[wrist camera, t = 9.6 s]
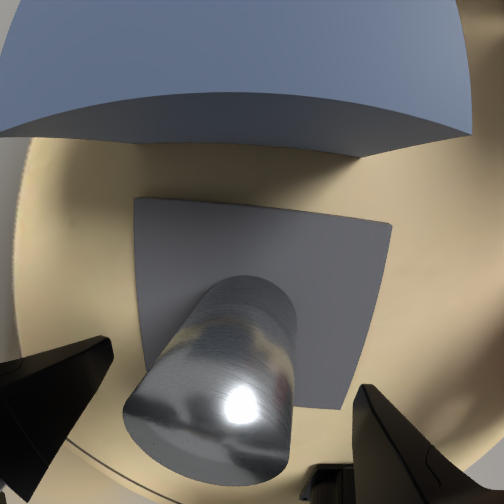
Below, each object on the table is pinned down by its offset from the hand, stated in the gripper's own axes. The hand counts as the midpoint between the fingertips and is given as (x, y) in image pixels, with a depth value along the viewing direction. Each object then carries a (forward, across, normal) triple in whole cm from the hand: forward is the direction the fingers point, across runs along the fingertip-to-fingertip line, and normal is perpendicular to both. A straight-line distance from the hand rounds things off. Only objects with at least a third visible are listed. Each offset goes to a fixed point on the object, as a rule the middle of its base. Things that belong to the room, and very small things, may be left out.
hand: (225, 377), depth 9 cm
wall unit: (+4, +1, -10) cm, 11 cm away
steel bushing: (+4, 0, 0) cm, 4 cm away
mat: (+4, 0, 0) cm, 4 cm away
